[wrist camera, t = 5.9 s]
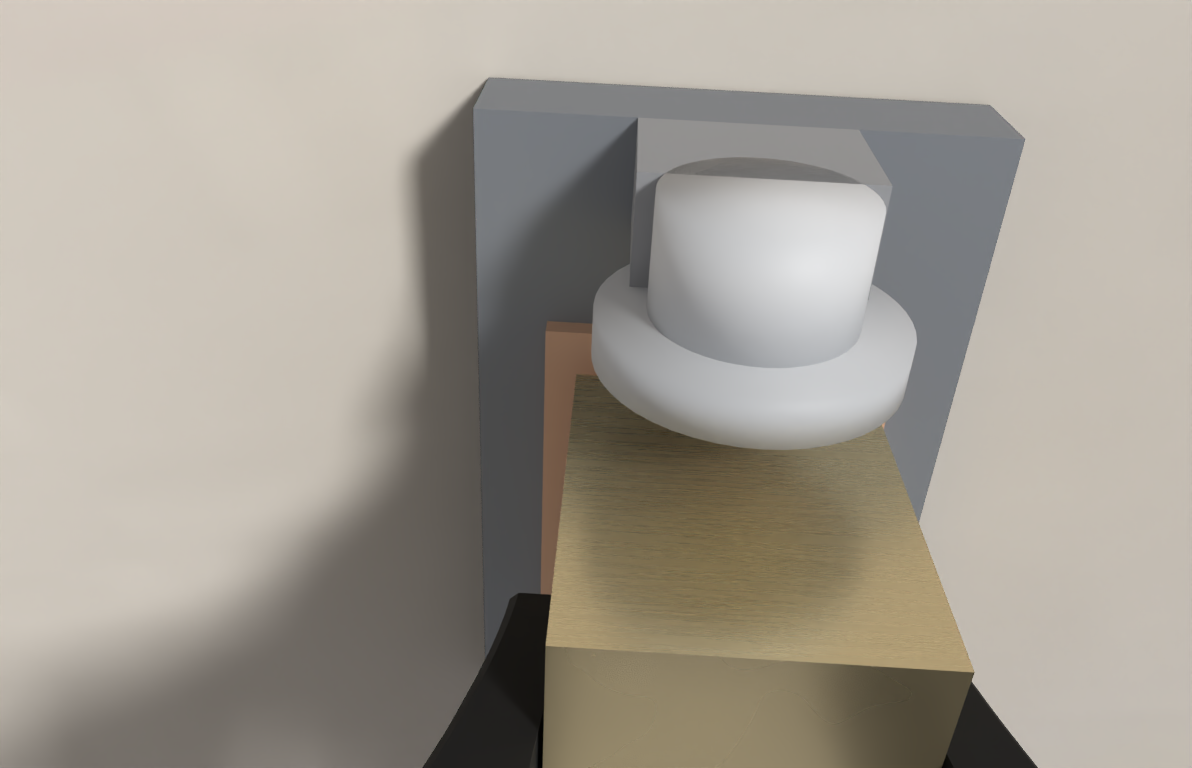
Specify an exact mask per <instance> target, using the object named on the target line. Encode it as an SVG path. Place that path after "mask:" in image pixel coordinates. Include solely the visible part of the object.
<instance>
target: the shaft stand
mask: <svg viewBox="0 0 1192 768" xmlns="http://www.w3.org/2000/svg"><path fill="white" fill-rule="evenodd" d="M473 128H474V173H475V219H476V264H477V310H478V355H479V401H480V446H481V492H482V537H483V583H484V628H485V659H486V657H487V655H488V653H489V650H490V648H491V646H492V644H493V642H494V639H495V637H496V635H497V633H498V630H499V628H500V625H501V623H502V620H503V618H504V615H505V612H506V609H507V606H508V603H509V599H510V598H512V597H513V596H514V595H516V594H517V593H533V594H549V595H551V594H552V585H553V576H554V567H555V558H556V550H557V541H558V532H559V523H560V514H561V505H562V497H563V488H564V479H565V470H566V461H567V452H568V444H569V435H570V426H571V417H572V408H573V399H574V391H575V382H576V374H583V375H597V376H598V378H599V380H600V381H601V383H602V384H603V385H604V386H605V388H606V389H607V390H608V391H609V392H610V393H611V394H612V395H613V396H614V397H615V398H616V399H617V400H618V401H620V402H621V403H622V404H623V405H625V406H626V407H628V408H629V409H631V410H632V411H633V412H635V413H636V414H638V415H640V416H642V417H644V418H646V419H647V420H649V421H651V422H653V423H655V424H658V425H660V426H662V427H665V428H667V429H669V430H672V431H675V432H678V433H681V434H684V435H686V436H689V437H692V438H696V439H700V440H704V441H708V442H712V443H717V444H723V445H728V446H734V447H741V448H752V449H762V450H794V449H809V448H816V447H823V446H829V445H833V444H837V443H841V442H845V441H849V440H852V439H854V438H857V437H860V436H862V435H865V434H867V433H869V432H871V431H872V430H874V429H876V428H878V427H880V426H881V425H882V427H883V429H884V432H885V435H886V437H887V440H888V443H889V445H890V448H891V451H892V453H893V456H894V459H895V461H896V464H897V467H898V469H899V472H900V475H901V477H902V480H903V483H904V485H905V488H906V491H907V493H908V496H909V499H910V501H911V504H912V507H913V509H914V512H915V515H916V517H917V520H918V523H919V520H920V516H921V512H922V509H923V505H924V502H925V498H926V494H927V491H928V487H929V484H930V480H931V476H932V473H933V469H934V466H935V462H936V459H937V455H938V451H939V448H940V444H941V441H942V437H943V433H944V430H945V426H946V423H947V419H948V415H949V412H950V408H951V405H952V401H953V397H954V394H955V390H956V387H957V383H958V379H959V376H960V372H961V369H962V365H963V361H964V358H965V354H966V351H967V347H968V343H969V340H970V336H971V333H972V329H973V325H974V322H975V318H976V315H977V311H978V307H979V304H980V300H981V297H982V293H983V289H984V286H985V282H986V279H987V275H988V272H989V268H990V264H991V261H992V257H993V254H994V250H995V246H996V243H997V239H998V236H999V232H1000V228H1001V225H1002V221H1003V218H1004V214H1005V210H1006V207H1007V203H1008V200H1009V196H1010V192H1011V189H1012V185H1013V182H1014V178H1015V174H1016V171H1017V167H1018V164H1019V160H1020V156H1021V153H1022V149H1023V146H1024V142H1025V138H1024V137H1023V136H1022V135H1021V134H1020V133H1018V132H1017V131H1016V130H1015V129H1014V128H1013V127H1012V126H1011V125H1010V124H1009V123H1008V122H1007V121H1006V120H1005V119H1004V118H1003V117H1002V116H1001V115H1000V114H999V113H998V112H997V111H996V110H995V109H994V108H992V107H991V106H990V105H979V104H961V103H943V102H924V101H906V100H888V99H870V98H852V97H834V96H816V95H797V94H779V93H761V92H743V91H725V90H707V89H688V88H670V87H652V86H634V85H616V84H598V83H580V82H561V81H543V80H525V79H507V78H488V80H487V82H486V84H485V86H484V88H483V90H482V92H481V94H480V96H479V98H478V100H477V102H476V104H475V106H474V108H473Z"/></svg>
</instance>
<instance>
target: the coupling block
mask: <svg viewBox="0 0 1192 768" xmlns="http://www.w3.org/2000/svg"><path fill="white" fill-rule="evenodd" d="M973 675H974V670H973V667H972V665H971V662H970V659H969V657H968V654H967V651H966V648H965V646H964V643H963V640H962V638H961V635H960V632H959V630H958V627H957V624H956V622H955V619H954V616H953V614H952V611H951V608H950V606H949V603H948V600H947V598H946V595H945V592H944V590H943V587H942V584H941V582H940V579H939V576H938V574H937V571H936V568H935V566H934V563H933V560H932V558H931V555H930V552H929V550H928V547H927V544H926V542H925V539H924V536H923V534H922V531H921V528H920V525H919V523H918V520H917V517H916V515H915V512H914V509H913V507H912V504H911V501H910V499H909V496H908V493H907V491H906V488H905V485H904V483H903V480H902V477H901V475H900V472H899V469H898V467H897V464H896V461H895V459H894V456H893V453H892V451H891V448H890V445H889V443H888V440H887V437H886V435H885V432H884V429H883V427H882V425H881V426H880V427H878V428H876V429H874V430H872V431H871V432H869V433H867V434H865V435H862V436H860V437H857V438H854V439H852V440H849V441H845V442H841V443H837V444H833V445H829V446H823V447H816V448H809V449H794V450H762V449H752V448H741V447H734V446H728V445H723V444H717V443H712V442H708V441H704V440H700V439H696V438H692V437H689V436H686V435H684V434H681V433H678V432H675V431H672V430H669V429H667V428H665V427H662V426H660V425H658V424H655V423H653V422H651V421H649V420H647V419H646V418H644V417H642V416H640V415H638V414H636V413H635V412H633V411H632V410H631V409H629V408H628V407H626V406H625V405H623V404H622V403H621V402H620V401H618V400H617V399H616V398H615V397H614V396H613V395H612V394H611V393H610V392H609V391H608V390H607V389H606V388H605V386H604V385H603V384H602V383H601V381H600V380H599V378H598V376H597V375H583V374H576V382H575V391H574V399H573V408H572V417H571V426H570V435H569V444H568V452H567V461H566V470H565V479H564V488H563V497H562V505H561V514H560V523H559V532H558V541H557V550H556V558H555V567H554V576H553V585H552V594H551V603H550V611H549V620H548V629H547V638H546V650H545V691H544V731H543V768H942V765H943V762H944V759H945V756H946V754H947V751H948V748H949V745H950V742H951V739H952V736H953V733H954V730H955V727H956V725H957V722H958V719H959V716H960V713H961V710H962V707H963V704H964V701H965V698H966V696H967V693H968V690H969V687H970V684H971V681H972V678H973Z"/></svg>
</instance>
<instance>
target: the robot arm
mask: <svg viewBox="0 0 1192 768" xmlns="http://www.w3.org/2000/svg"><path fill="white" fill-rule="evenodd" d="M550 603H551V595H549V594H533V593H517V594H516V595H514V596H513V597H512V598H510V599H509V603H508V606H507V609H506V612H505V615H504V618H503V620H502V623H501V625H500V628H499V630H498V633H497V635H496V637H495V639H494V642H493V644H492V646H491V648H490V650H489V653H488V655H487V657H486V659H485V661H484V663H483V665H482V667H481V669H480V671H479V673H478V675H477V677H476V679H475V680H474V682H473V684H472V686H471V688H470V689H469V691H468V693H467V695H466V697H465V698H464V700H463V702H462V704H461V706H460V707H459V709H458V711H457V713H456V715H455V716H454V718H453V720H452V722H451V724H450V725H449V727H448V729H447V730H446V732H445V734H444V735H443V737H442V738H441V740H440V741H439V743H438V745H437V746H436V748H435V749H434V751H433V752H432V754H431V755H430V757H429V759H428V760H427V762H426V763H425V765H424V766H423V768H543V731H544V691H545V650H546V638H547V629H548V620H549V611H550ZM942 768H1038V767H1037V766H1036V765H1035V764H1034V762H1033V761H1032V760H1031V759H1030V757H1029V756H1028V755H1027V754H1026V752H1025V751H1024V750H1023V748H1022V747H1021V746H1020V745H1019V743H1018V742H1017V741H1016V740H1015V738H1014V737H1013V736H1012V735H1011V733H1010V732H1009V731H1008V730H1007V728H1006V727H1005V726H1004V724H1003V723H1002V722H1001V720H1000V719H999V718H998V716H997V715H996V714H995V712H994V711H993V710H992V709H991V707H990V706H989V704H988V703H987V702H986V700H985V699H984V698H983V696H982V695H981V694H980V692H979V691H978V690H977V688H976V687H975V686H974V684H973V683H972V681H971V684H970V687H969V690H968V693H967V696H966V698H965V701H964V704H963V707H962V710H961V713H960V716H959V719H958V722H957V725H956V727H955V730H954V733H953V736H952V739H951V742H950V745H949V748H948V751H947V754H946V756H945V759H944V762H943V765H942Z"/></svg>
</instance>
